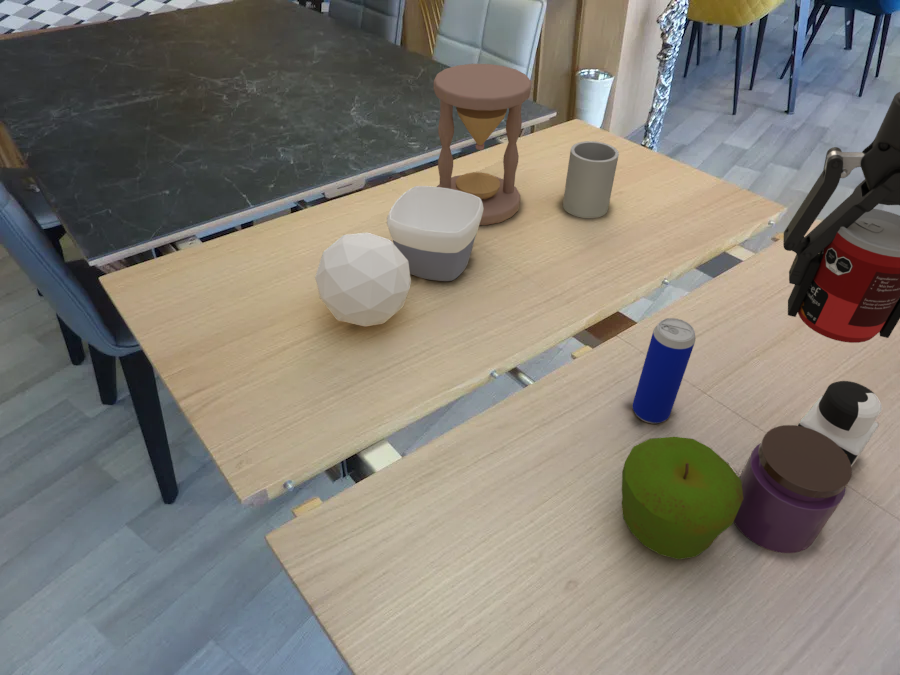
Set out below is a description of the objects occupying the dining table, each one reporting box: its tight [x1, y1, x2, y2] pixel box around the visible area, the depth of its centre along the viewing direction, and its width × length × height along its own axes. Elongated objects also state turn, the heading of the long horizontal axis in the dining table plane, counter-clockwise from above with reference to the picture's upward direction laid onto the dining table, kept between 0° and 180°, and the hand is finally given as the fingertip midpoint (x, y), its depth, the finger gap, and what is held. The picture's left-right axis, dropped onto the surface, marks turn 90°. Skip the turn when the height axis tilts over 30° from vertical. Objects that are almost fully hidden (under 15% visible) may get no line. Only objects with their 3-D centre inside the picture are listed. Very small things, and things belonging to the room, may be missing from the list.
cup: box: [562, 140, 620, 219], centre depth 132 cm, size 9×9×12 cm
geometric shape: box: [314, 232, 412, 327], centre depth 103 cm, size 14×15×15 cm
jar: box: [733, 424, 853, 554], centre depth 76 cm, size 10×10×11 cm
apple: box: [621, 436, 743, 560], centre depth 75 cm, size 12×12×11 cm
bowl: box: [386, 185, 484, 282], centre depth 116 cm, size 15×15×11 cm
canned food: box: [797, 208, 900, 344], centre depth 65 cm, size 8×8×11 cm
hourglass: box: [433, 63, 532, 226], centre depth 128 cm, size 18×18×25 cm
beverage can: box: [632, 317, 696, 425], centre depth 88 cm, size 5×5×15 cm
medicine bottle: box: [797, 380, 883, 467], centre depth 83 cm, size 7×7×12 cm
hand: (836, 318), depth 68 cm, fingers closed on canned food, 8 cm apart
